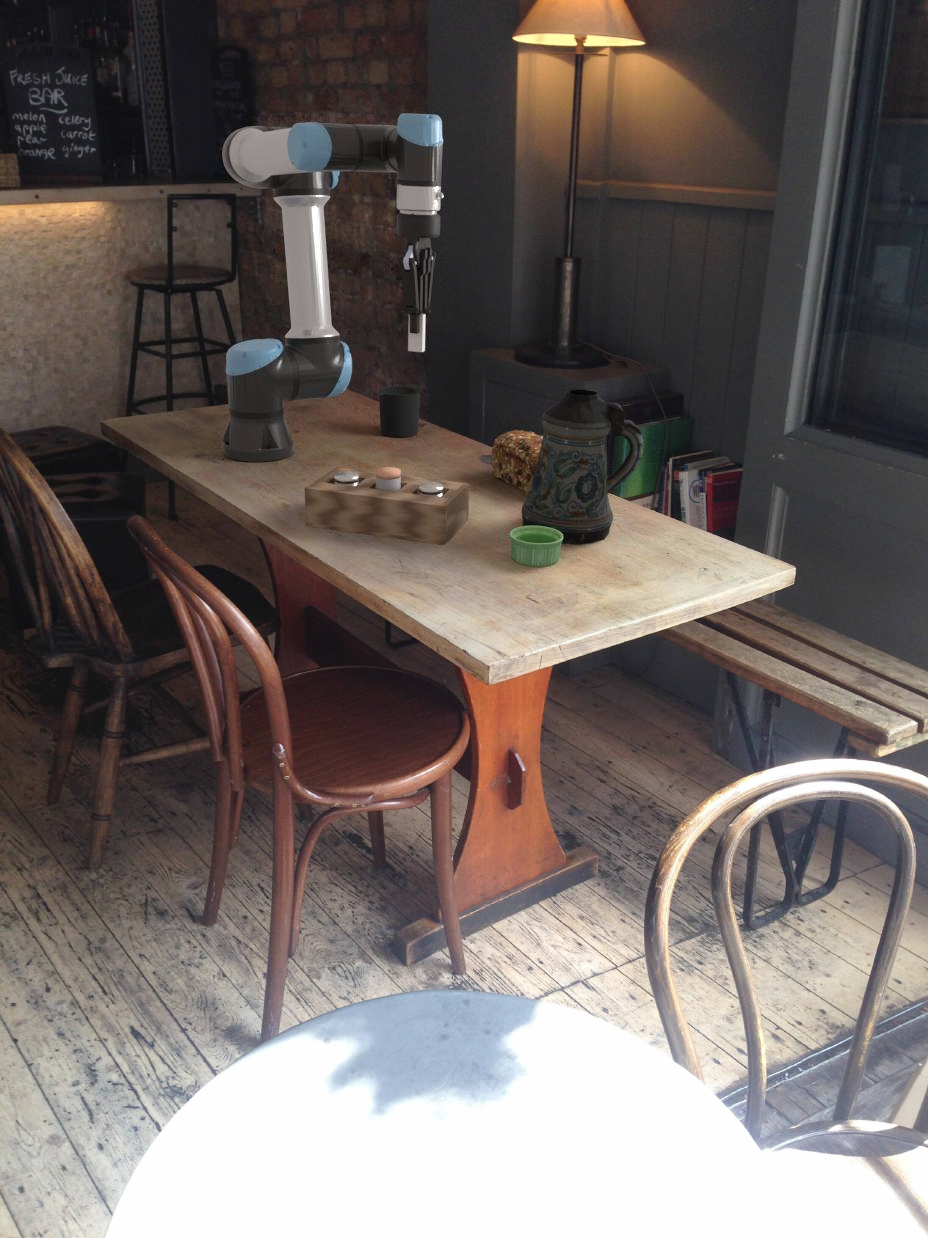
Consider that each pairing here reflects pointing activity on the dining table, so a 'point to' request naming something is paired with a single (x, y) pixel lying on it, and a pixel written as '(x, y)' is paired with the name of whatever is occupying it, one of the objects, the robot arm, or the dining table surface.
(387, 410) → the pen holder
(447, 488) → the block
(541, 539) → the ramekin
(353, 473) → the plug
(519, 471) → the bread
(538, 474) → the beer stein
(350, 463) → the dining table surface
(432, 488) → the plug
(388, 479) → the plug terracotta
